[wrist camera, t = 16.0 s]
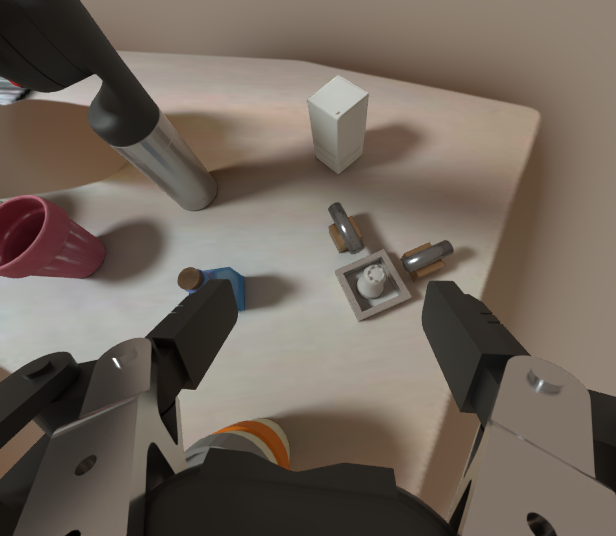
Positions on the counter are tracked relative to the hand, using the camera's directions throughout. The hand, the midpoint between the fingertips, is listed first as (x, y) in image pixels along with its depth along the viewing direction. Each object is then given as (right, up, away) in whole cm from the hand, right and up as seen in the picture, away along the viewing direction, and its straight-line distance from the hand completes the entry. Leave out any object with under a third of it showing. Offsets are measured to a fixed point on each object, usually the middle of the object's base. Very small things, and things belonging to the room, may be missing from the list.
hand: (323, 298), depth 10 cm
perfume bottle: (-15, -4, +34) cm, 37 cm away
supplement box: (+6, +25, +40) cm, 48 cm away
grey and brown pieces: (+12, +4, +32) cm, 35 cm away
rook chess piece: (+10, -2, +31) cm, 32 cm away
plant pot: (-48, +3, +41) cm, 63 cm away
